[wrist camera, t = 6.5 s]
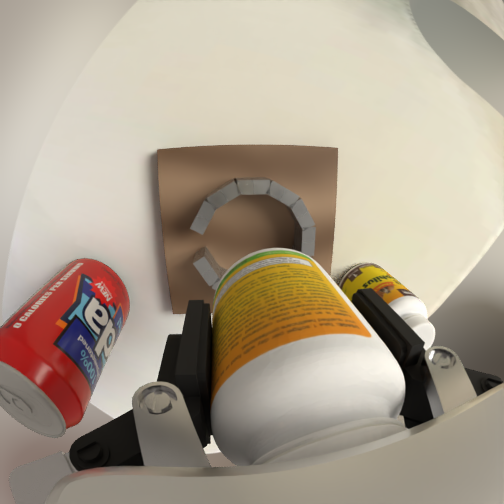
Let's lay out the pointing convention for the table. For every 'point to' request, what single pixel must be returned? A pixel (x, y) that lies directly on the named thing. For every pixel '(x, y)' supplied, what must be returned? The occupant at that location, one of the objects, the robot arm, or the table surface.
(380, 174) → the table surface
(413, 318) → the supplement bottle
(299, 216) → the steel ring
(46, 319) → the soda can
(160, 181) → the base plate
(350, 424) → the supplement bottle
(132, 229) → the table surface
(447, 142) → the table surface
